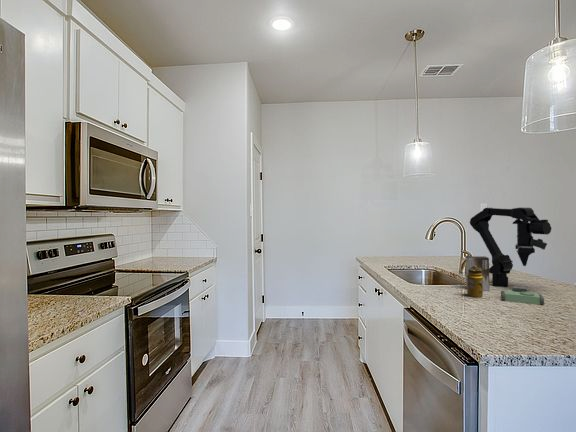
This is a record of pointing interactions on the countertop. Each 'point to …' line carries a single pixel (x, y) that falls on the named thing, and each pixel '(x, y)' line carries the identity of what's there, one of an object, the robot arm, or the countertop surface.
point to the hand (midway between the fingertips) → (524, 265)
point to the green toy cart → (522, 297)
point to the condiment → (474, 284)
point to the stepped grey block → (519, 289)
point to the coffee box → (479, 268)
